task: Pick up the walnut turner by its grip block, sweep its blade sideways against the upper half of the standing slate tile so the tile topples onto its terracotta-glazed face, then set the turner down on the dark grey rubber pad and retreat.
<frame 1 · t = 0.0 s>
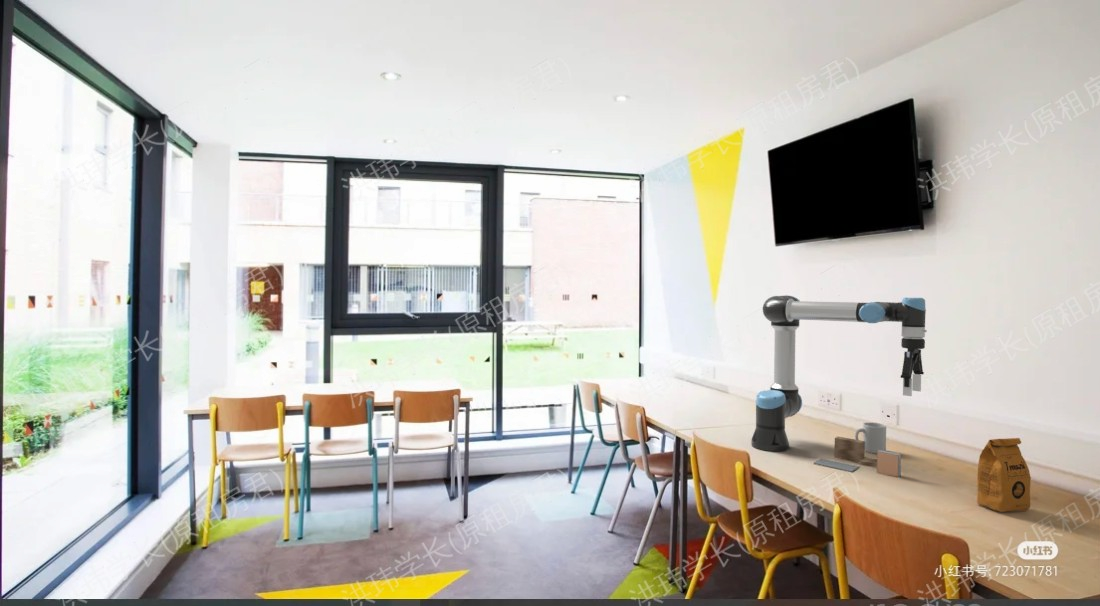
hand: (912, 393, 216), 28 cm above the table, fingers open, 13 cm apart
coffee package: (1003, 509, 175), on the table
pad: (835, 465, 217), on the table
tile: (888, 474, 207), on the table
mug: (869, 451, 236), on the table
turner: (849, 459, 225), on the table
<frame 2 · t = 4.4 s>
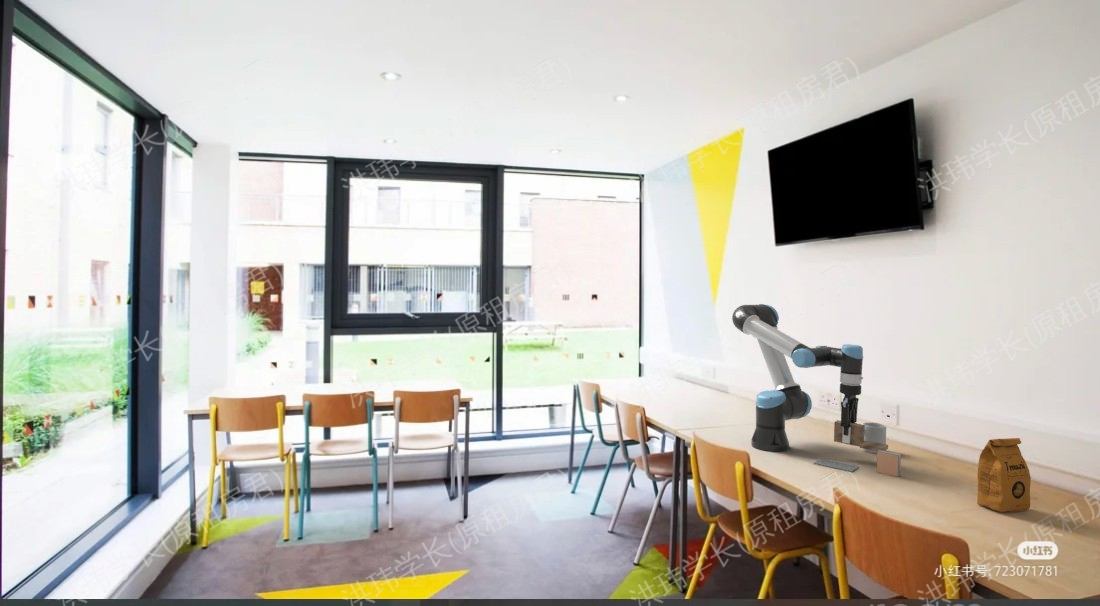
hand: (847, 441, 225), 7 cm above the table, fingers closed on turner, 3 cm apart
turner: (848, 443, 225), point 6 cm above the table, touching gripper
everything else where it was.
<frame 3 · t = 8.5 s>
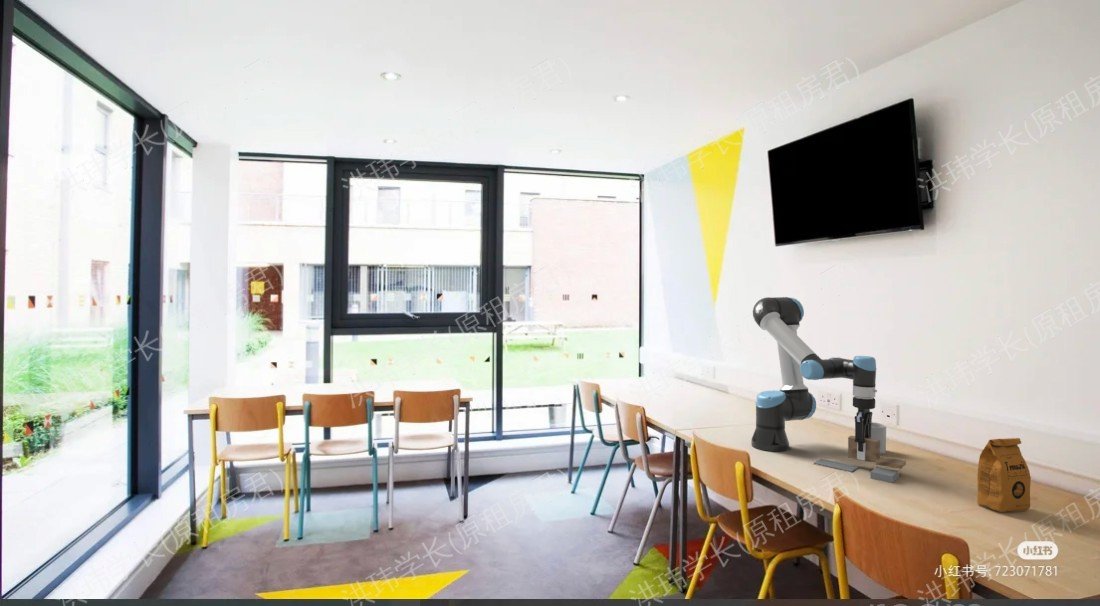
hand: (862, 458, 214), 4 cm above the table, fingers closed on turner, 3 cm apart
tile: (887, 472, 206), point 1 cm above the table, tilted 90°
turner: (863, 459, 214), point 3 cm above the table, touching gripper
everything else where it was.
when the fingers open (1 cm above the table, at t = 12.9 s): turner stays where it is, resting on pad.
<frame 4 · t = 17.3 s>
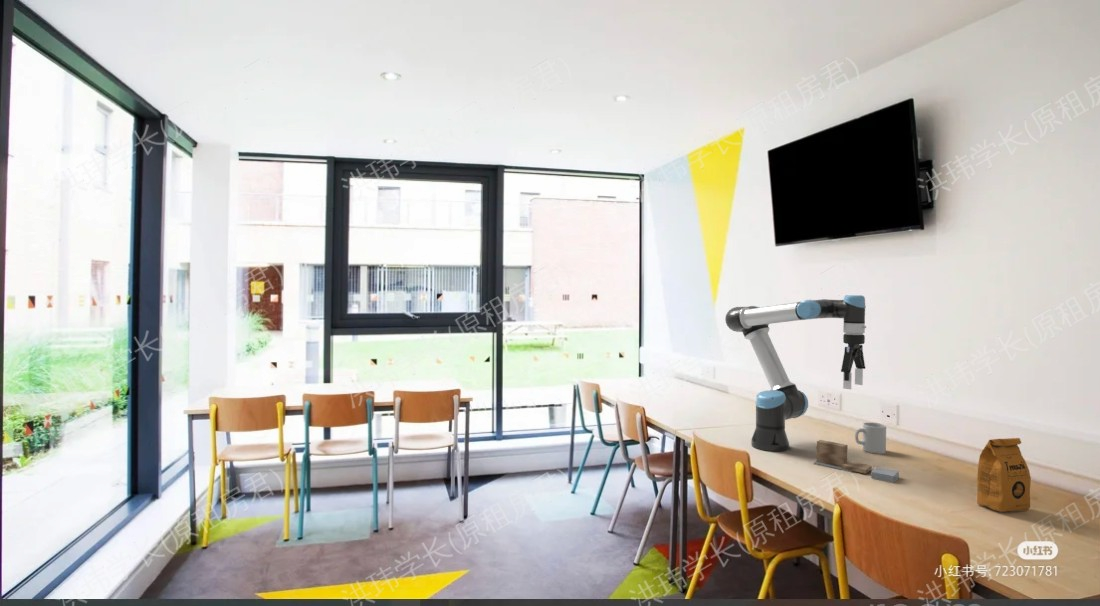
hand: (853, 386, 226), 29 cm above the table, fingers open, 13 cm apart
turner: (831, 463, 218), resting on pad
everything else where it was.
at the end: tile tilted 90°; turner inside the target area on the pad (1.5 cm from its centre), point 0.4 cm above the pad's base; the gripper is holding nothing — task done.
